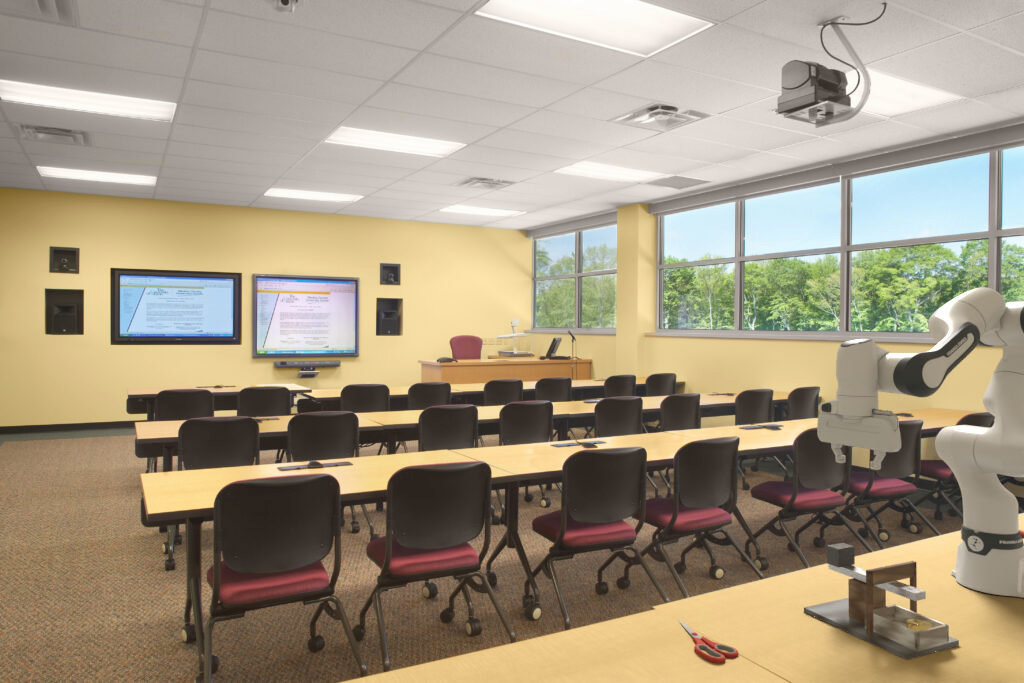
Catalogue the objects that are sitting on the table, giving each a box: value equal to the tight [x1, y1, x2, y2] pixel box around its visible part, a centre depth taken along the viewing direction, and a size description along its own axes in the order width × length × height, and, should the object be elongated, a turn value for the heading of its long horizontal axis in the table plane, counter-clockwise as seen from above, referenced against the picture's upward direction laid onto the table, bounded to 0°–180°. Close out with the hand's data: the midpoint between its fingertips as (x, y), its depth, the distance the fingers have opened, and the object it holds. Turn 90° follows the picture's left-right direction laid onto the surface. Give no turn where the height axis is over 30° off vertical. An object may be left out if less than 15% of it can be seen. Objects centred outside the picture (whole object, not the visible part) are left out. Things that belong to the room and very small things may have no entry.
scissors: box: [677, 619, 739, 665], centre depth 134 cm, size 8×21×2 cm, turn 23°
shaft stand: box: [803, 560, 960, 661], centre depth 139 cm, size 24×15×14 cm, turn 23°
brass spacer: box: [907, 619, 933, 632], centre depth 130 cm, size 4×4×3 cm
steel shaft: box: [826, 542, 927, 601], centre depth 140 cm, size 20×5×6 cm, turn 23°
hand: (857, 465), depth 156 cm, fingers open, 8 cm apart
